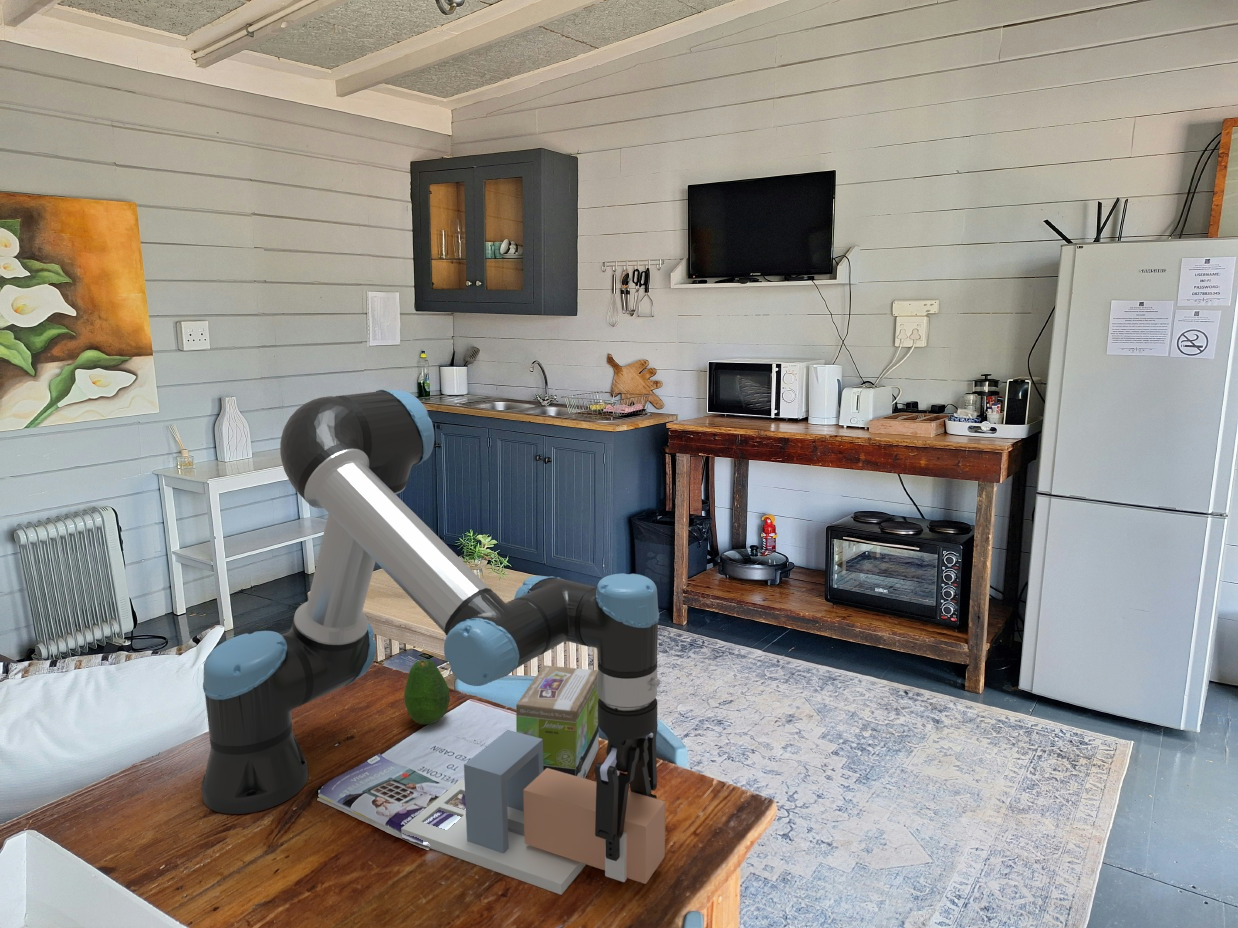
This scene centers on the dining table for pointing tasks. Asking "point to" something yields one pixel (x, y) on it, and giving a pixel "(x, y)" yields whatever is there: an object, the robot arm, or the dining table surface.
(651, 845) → the terracotta clay brick
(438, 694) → the avocado
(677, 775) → the dining table surface
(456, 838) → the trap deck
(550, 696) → the tea box
